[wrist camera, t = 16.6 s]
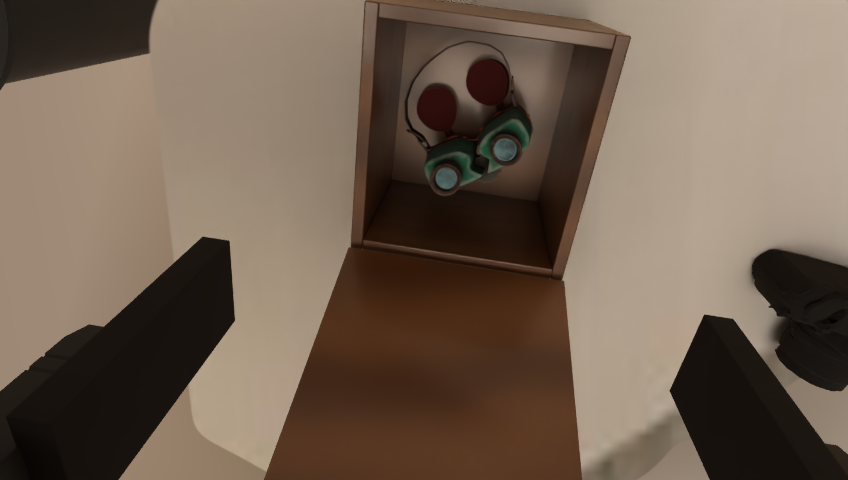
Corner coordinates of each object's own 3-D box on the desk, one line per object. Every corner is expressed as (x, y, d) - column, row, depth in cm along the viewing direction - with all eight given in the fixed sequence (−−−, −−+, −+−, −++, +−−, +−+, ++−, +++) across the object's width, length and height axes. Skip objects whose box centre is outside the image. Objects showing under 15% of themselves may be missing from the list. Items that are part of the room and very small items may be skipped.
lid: (256, 499, 22) (258, 506, 23) (589, 560, 22) (584, 566, 22) (348, 246, 35) (348, 255, 35) (564, 280, 34) (561, 288, 34)
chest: (400, -5, 39) (364, 0, 28) (589, 20, 39) (631, 36, 27) (383, 183, 47) (350, 248, 35) (543, 207, 46) (561, 281, 35)
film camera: (709, 323, 49) (751, 388, 41) (764, 237, 45) (824, 292, 37) (857, 365, 50) (928, 438, 42) (927, 284, 45) (1022, 349, 37)
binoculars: (484, 19, 30) (554, 169, 32) (491, 24, 40) (544, 139, 42) (358, 93, 33) (431, 226, 35) (393, 80, 42) (448, 185, 45)
